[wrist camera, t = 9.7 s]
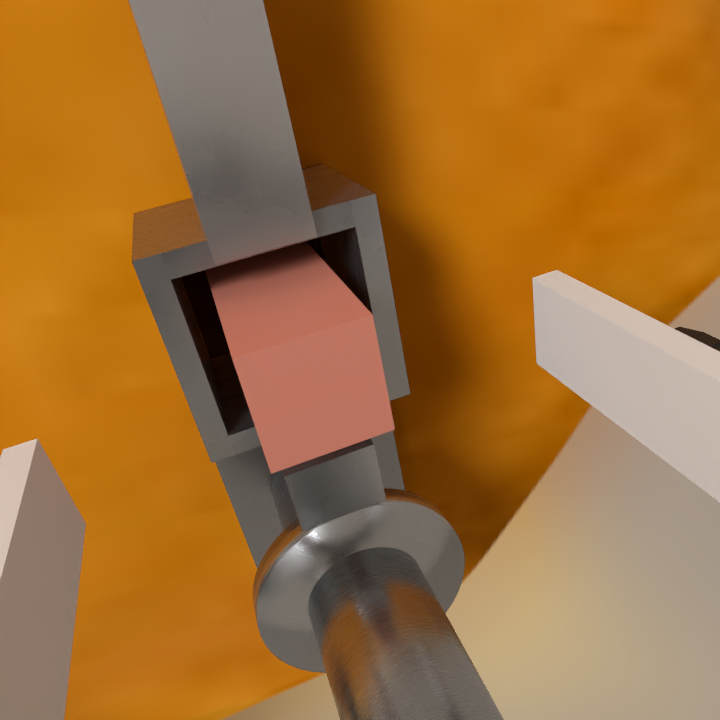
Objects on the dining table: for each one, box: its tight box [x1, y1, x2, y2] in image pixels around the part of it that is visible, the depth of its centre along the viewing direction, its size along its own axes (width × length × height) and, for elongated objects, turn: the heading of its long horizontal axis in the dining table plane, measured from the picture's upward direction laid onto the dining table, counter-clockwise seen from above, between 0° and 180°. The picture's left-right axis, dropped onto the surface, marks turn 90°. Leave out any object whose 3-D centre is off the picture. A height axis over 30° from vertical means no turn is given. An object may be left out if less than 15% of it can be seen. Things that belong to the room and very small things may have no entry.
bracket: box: [128, 0, 410, 463], centre depth 18 cm, size 7×20×6 cm, turn 11°
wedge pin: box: [205, 241, 395, 474], centre depth 20 cm, size 4×4×10 cm
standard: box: [216, 430, 504, 720], centre depth 20 cm, size 8×10×20 cm
